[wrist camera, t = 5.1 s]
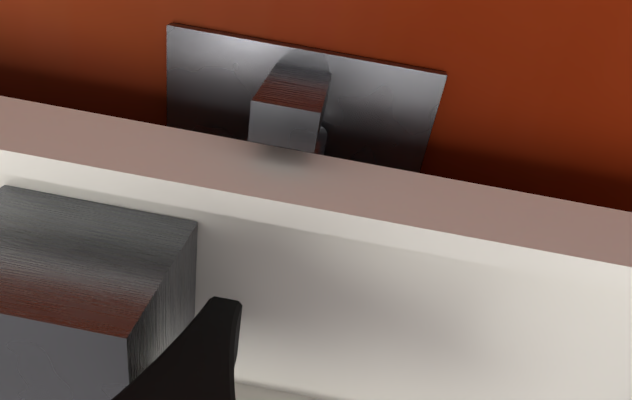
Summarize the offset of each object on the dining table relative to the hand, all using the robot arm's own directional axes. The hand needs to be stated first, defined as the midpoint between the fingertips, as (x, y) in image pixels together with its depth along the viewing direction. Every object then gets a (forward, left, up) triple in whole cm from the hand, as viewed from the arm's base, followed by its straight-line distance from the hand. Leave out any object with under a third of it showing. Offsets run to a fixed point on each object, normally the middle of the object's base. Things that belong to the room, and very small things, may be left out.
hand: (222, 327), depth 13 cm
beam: (+1, +1, -3) cm, 3 cm away
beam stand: (-1, 0, -5) cm, 5 cm away
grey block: (+3, +2, -1) cm, 4 cm away
